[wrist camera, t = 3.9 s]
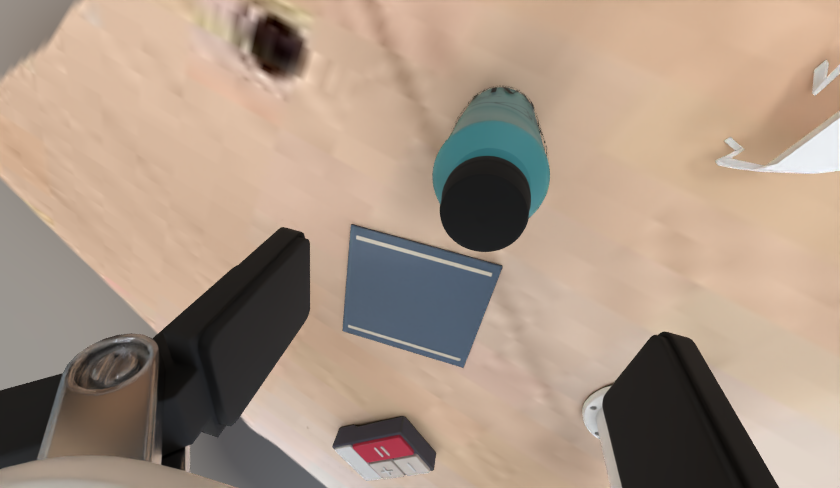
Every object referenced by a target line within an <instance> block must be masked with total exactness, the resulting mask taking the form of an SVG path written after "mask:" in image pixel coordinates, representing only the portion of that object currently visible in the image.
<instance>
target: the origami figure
mask: <svg viewBox="0 0 840 488" xmlns="http://www.w3.org/2000/svg"><path fill="white" fill-rule="evenodd" d="M828 66H829V63H828V61H827V59H826V60H825V61H824V62H823V63H822V64H821V65H819V66H818V67H817V68H816V69H815V70H814V79H813V90H812V93H813V94H814V95H816V94H818V93H819V92H820V91H821V90H822V89H824V88H825V87H826V86H827V85H828V84H829V83H830V82H831V81H833V80H834V79H835V78H836V77H837V76H838V75H839V74H840V64H839V65H838V67H837V68H836V69H835V70H834V71H833V72H832V73H831V74H830V75H829V76H828V77H827V72H828ZM724 141H725V142H726V143H727V144H728V145H729V146H730V147H731V148H733V149H734V150H735V151H734V152H732V153H730V154H728V155H726V156H724V157H722V158H720V159H718V160H716V163H717V165H718V166H724V167H729V168H735V169H741V170H750V171H758V172H776V173H801V174H816V173H825V172H832V171H840V110H839V111H838V112H837V113H835V114H834V115H833V116H831V117H830V118H829V119H827V120H826V121H825V122H823V123H822V124H821V125H819V126H818V127H817V128H815V129H814V130H813V131H811V132H810V133H808V134H807V135H806V136H804V137H803V138H802V139H800V140H799V141H798V142H796V143H795V144H794V145H792V146H791V147H790V148H788V149H787V150H786V151H784V152H783V153H782V154H780V155H779V156H778V157H776V158H775V159H773V160H772V161H771V162H769V163H768V164H767V165H760V164H755V163H750V162H745V161H740V160H735V159H731V158H733V157H734V156H736V155H737V154H739V153H740V152H742V151H743V150H745V149H744V148H743V147H742V146H740V145H739V144H738V143H737V142H735V141H734V140H733V139H732V138H731V137H729V138H728V139H726V140H724Z"/></svg>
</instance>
